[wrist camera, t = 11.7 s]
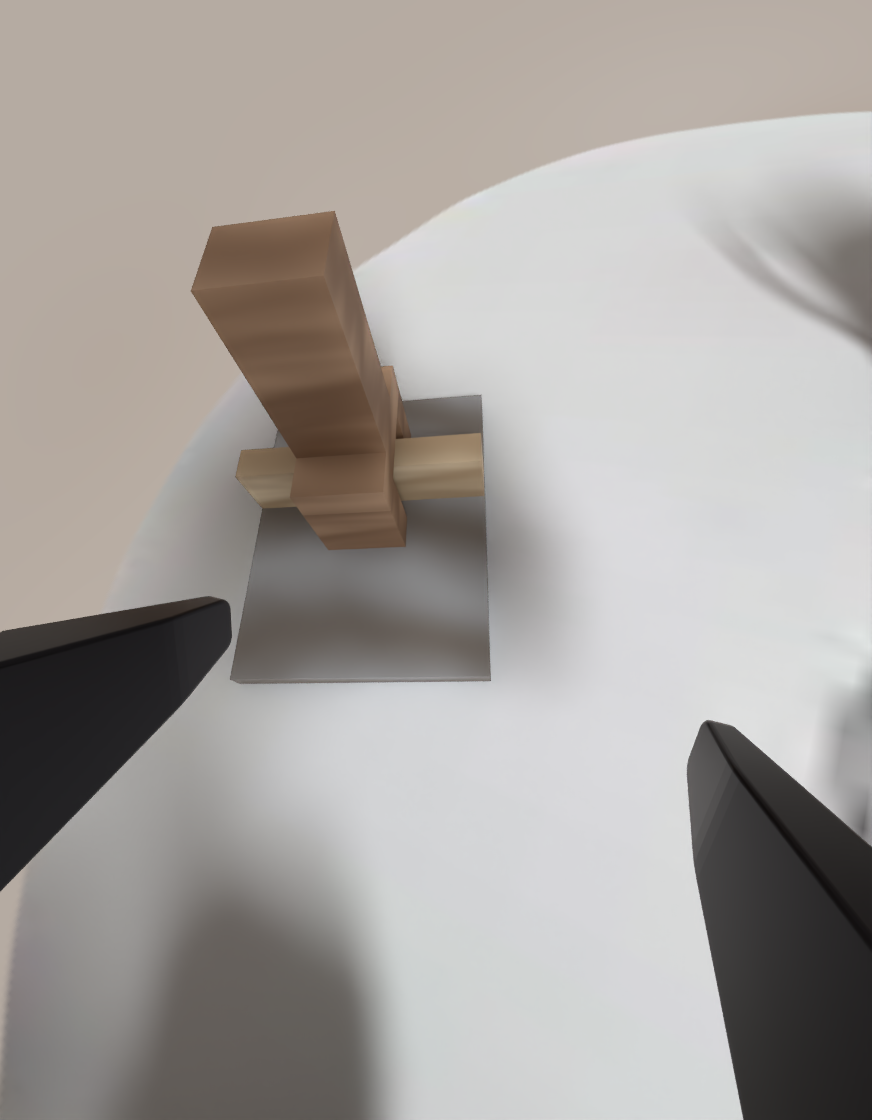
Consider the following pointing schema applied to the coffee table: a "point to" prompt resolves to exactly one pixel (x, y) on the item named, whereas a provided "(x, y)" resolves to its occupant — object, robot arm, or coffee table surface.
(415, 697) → the coffee table surface
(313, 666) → the cross plate base
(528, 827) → the coffee table surface
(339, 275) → the wooden block
